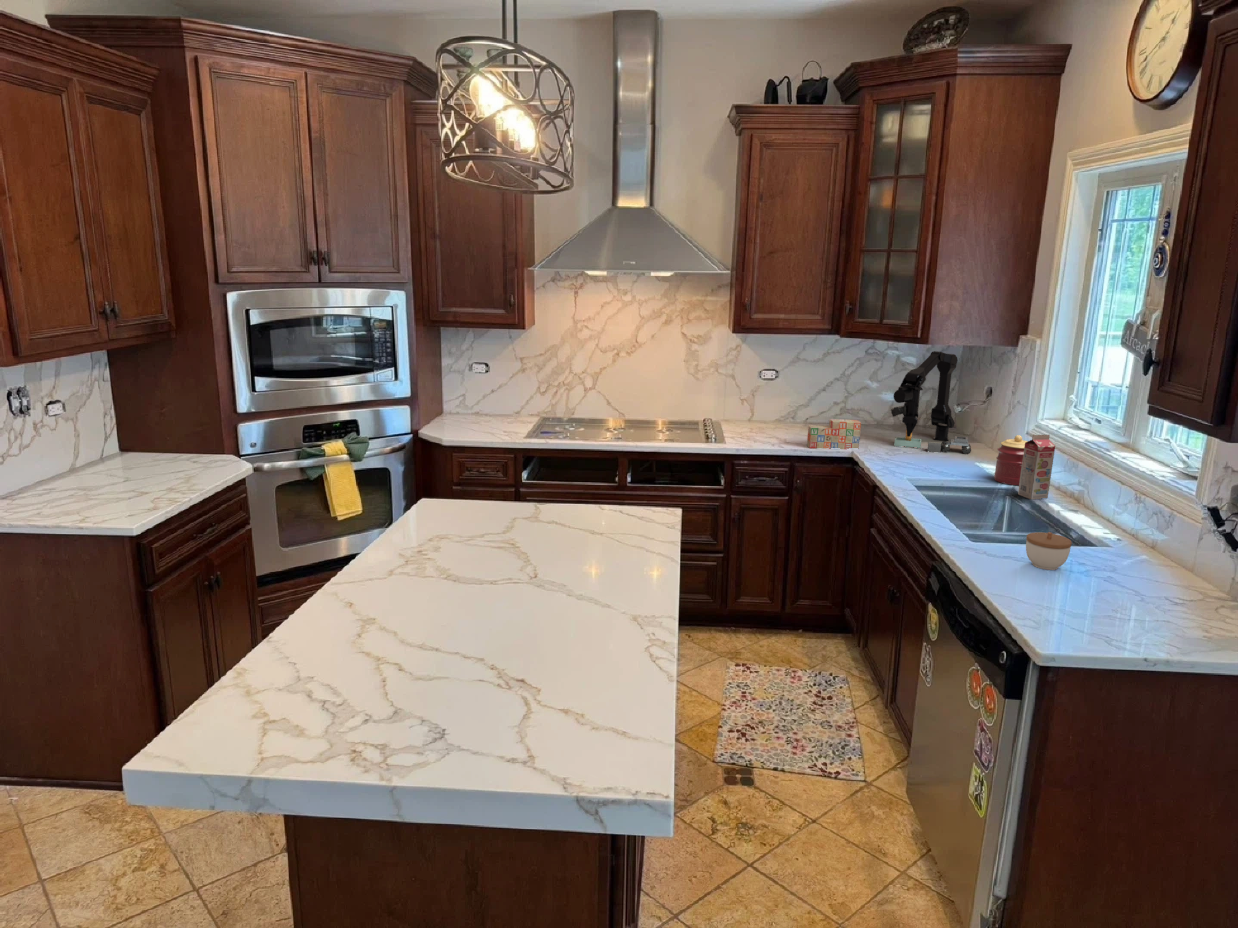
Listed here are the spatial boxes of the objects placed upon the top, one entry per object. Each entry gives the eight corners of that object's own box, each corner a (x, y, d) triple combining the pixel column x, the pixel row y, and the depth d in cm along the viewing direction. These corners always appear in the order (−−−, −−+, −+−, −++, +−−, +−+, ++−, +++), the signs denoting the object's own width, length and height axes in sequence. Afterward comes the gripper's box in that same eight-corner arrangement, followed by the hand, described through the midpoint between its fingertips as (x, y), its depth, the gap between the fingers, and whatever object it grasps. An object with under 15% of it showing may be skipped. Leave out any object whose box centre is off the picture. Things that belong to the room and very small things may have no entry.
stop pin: (905, 439, 368) (906, 424, 366) (911, 440, 367) (912, 424, 365) (904, 440, 365) (906, 425, 364) (911, 441, 364) (912, 425, 363)
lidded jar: (1018, 566, 220) (1023, 533, 218) (1028, 556, 228) (1032, 523, 226) (1063, 576, 213) (1068, 542, 211) (1071, 565, 222) (1076, 532, 219)
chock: (927, 450, 360) (928, 442, 359) (939, 451, 358) (940, 443, 357) (927, 452, 356) (928, 444, 355) (940, 453, 354) (940, 445, 353)
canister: (1010, 487, 301) (1017, 439, 296) (985, 478, 313) (991, 432, 308) (1039, 485, 304) (1046, 438, 300) (1014, 476, 316) (1020, 431, 312)
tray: (894, 443, 371) (895, 437, 371) (920, 445, 368) (921, 439, 367) (894, 446, 365) (894, 439, 365) (920, 448, 362) (921, 442, 361)
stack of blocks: (809, 448, 358) (811, 420, 355) (806, 445, 364) (808, 418, 361) (858, 450, 357) (861, 422, 354) (855, 447, 363) (857, 419, 361)
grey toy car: (940, 448, 363) (941, 434, 362) (970, 451, 359) (971, 437, 357) (940, 452, 356) (941, 438, 354) (970, 454, 352) (972, 440, 350)
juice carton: (1018, 494, 291) (1026, 433, 286) (1034, 493, 292) (1042, 432, 287) (1031, 499, 285) (1039, 437, 279) (1047, 498, 286) (1056, 436, 281)
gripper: (894, 396, 373) (890, 430, 377) (891, 402, 356) (888, 438, 360) (920, 398, 369) (916, 432, 373) (919, 404, 352) (915, 440, 356)
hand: (908, 435), depth 365 cm, fingers closed on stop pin, 3 cm apart
